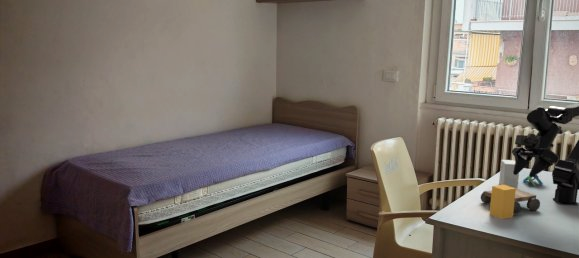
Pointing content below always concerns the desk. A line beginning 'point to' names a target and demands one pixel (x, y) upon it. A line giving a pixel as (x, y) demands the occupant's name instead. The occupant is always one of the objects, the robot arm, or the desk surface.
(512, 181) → the small box
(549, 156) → the robot arm
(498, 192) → the yellow upright rectangular block
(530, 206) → the dolly
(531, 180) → the blue angled frame
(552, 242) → the desk surface
